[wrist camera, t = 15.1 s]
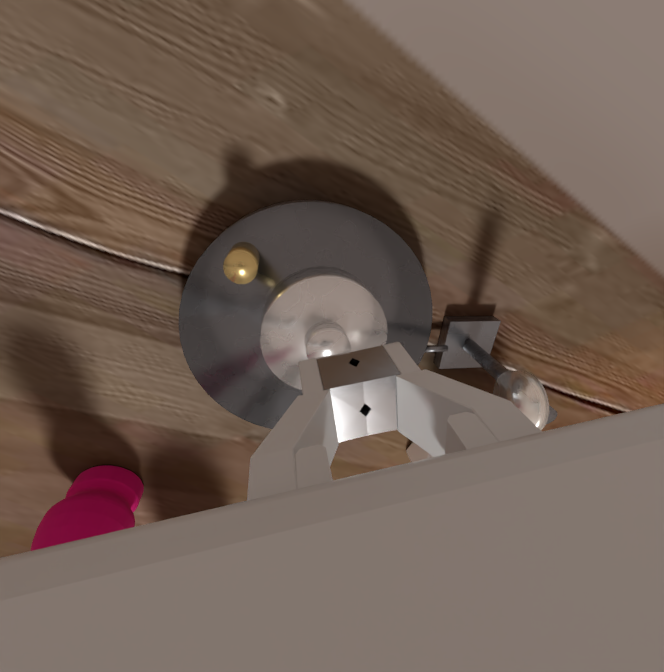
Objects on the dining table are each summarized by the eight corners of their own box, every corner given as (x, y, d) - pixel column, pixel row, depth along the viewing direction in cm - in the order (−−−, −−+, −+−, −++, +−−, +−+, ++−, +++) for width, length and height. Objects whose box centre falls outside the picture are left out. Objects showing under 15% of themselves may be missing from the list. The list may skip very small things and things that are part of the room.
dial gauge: (410, 363, 32) (476, 455, 21) (419, 316, 29) (498, 395, 19) (479, 360, 33) (572, 447, 22) (492, 315, 31) (603, 389, 20)
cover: (323, 388, 28) (331, 423, 24) (237, 329, 24) (230, 360, 20) (398, 315, 26) (420, 341, 22) (316, 239, 22) (326, 254, 18)
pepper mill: (52, 473, 31) (-241, 873, 13) (126, 452, 31) (-68, 817, 13) (96, 516, 34) (-91, 879, 17) (162, 497, 34) (45, 835, 17)
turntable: (457, 340, 30) (487, 368, 26) (290, 448, 33) (292, 490, 29) (342, 135, 21) (359, 126, 17) (126, 308, 24) (93, 338, 20)
